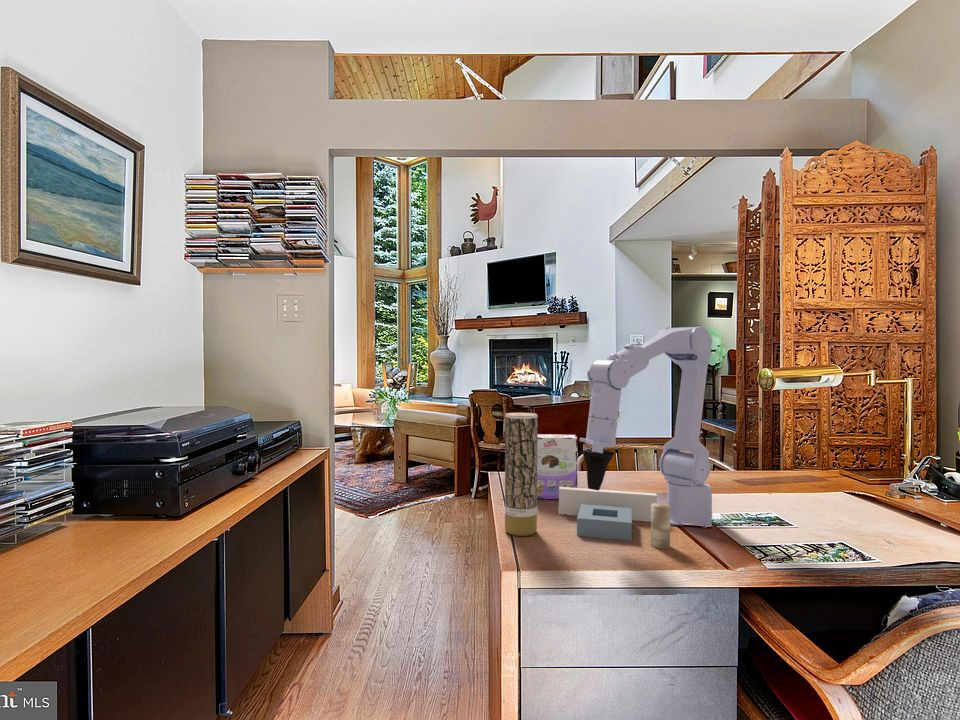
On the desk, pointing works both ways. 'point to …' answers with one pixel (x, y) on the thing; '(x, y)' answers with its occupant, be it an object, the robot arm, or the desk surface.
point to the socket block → (605, 522)
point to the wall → (606, 501)
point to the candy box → (555, 464)
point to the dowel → (660, 525)
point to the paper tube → (521, 473)
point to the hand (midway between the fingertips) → (594, 487)
